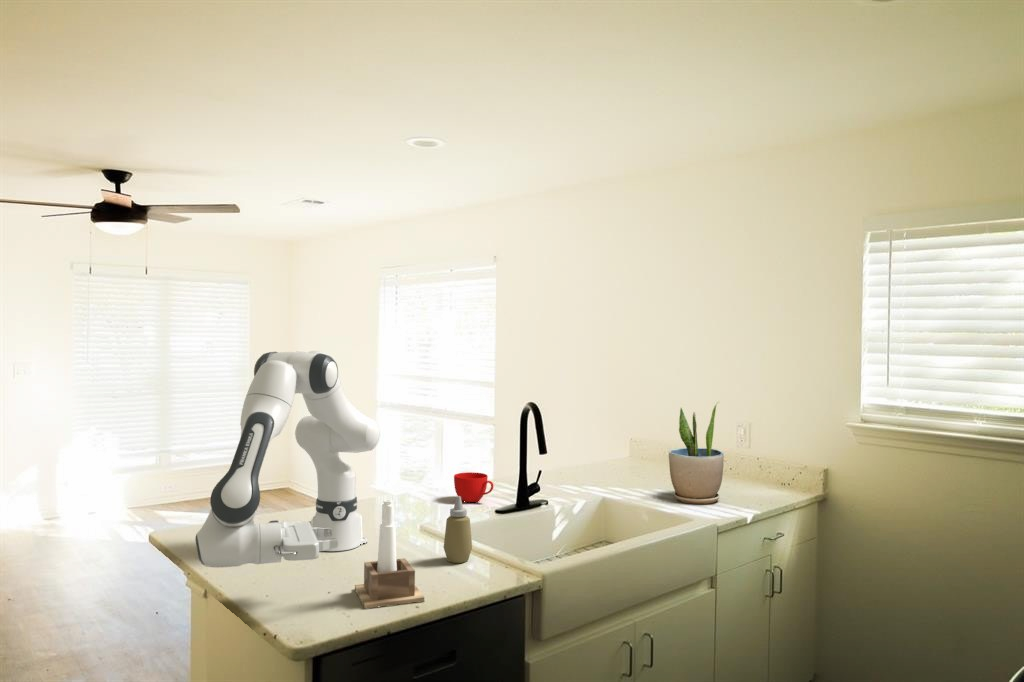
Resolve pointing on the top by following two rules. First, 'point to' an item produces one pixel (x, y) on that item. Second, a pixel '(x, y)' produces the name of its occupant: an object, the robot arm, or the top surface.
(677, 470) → the potted plant
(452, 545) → the squeeze bottle
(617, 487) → the top surface
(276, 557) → the robot arm
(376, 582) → the holder
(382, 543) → the cosmetic bottle
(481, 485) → the ceramic cup
